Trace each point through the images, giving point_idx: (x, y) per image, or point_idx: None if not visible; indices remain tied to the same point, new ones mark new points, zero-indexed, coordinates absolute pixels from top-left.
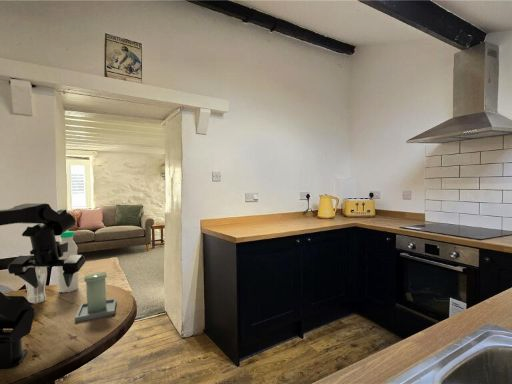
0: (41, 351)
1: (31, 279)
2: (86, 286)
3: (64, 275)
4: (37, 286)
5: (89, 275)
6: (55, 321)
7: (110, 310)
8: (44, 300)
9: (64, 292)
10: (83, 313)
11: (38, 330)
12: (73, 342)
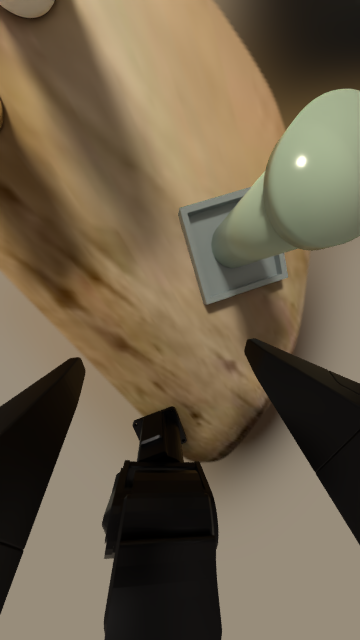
0: (198, 405)
1: (41, 477)
2: (256, 230)
3: (352, 517)
4: (82, 364)
5: (299, 155)
6: (153, 293)
7: (269, 258)
8: (2, 111)
9: (25, 17)
10: (208, 266)
11: (141, 333)
12: (238, 382)
